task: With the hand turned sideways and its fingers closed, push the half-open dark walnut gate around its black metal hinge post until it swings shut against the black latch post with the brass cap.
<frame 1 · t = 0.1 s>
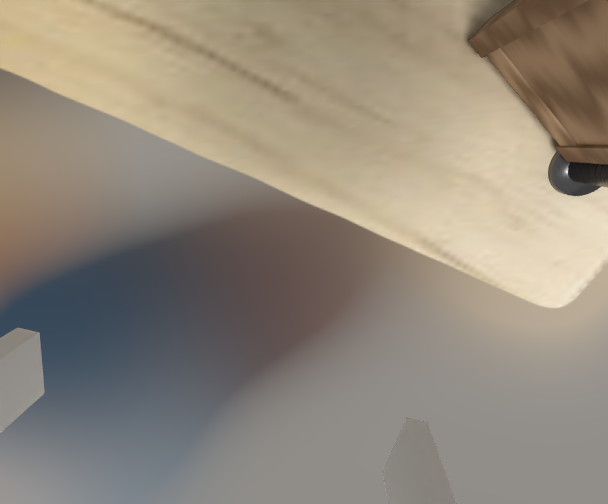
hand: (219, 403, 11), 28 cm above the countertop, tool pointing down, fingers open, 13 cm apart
walnut gate: (598, 78, 23), point 10 cm above the countertop, hinge at 0.0°
hinge post: (578, 166, 34), on the countertop
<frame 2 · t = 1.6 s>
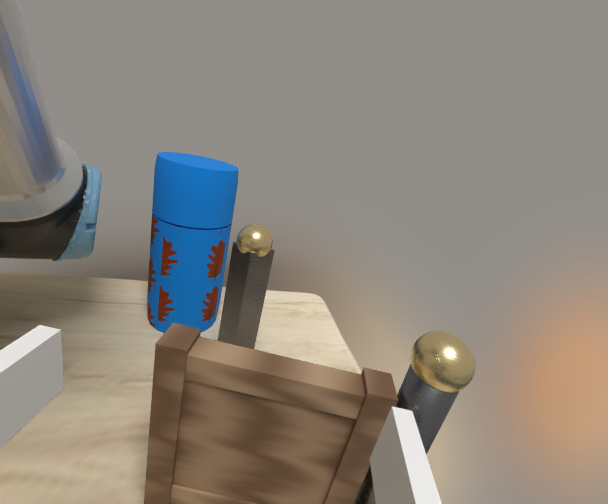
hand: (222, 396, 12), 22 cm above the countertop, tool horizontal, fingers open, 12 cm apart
latch post: (226, 394, 39), on the countertop
walnut gate: (259, 443, 24), point 9 cm above the countertop, hinge at 0.0°
thermos: (183, 316, 51), on the countertop
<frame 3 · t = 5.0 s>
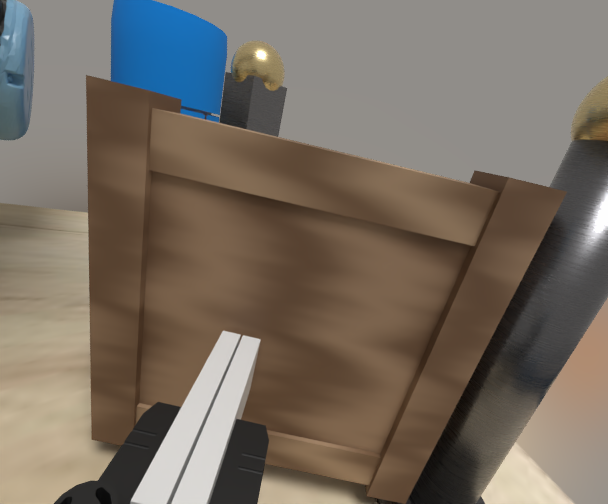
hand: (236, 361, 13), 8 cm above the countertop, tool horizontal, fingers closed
latch post: (219, 323, 28), on the countertop
walnut gate: (286, 323, 14), point 10 cm above the countertop, hinge at -1.9°, touching gripper
thermos: (159, 248, 40), on the countertop
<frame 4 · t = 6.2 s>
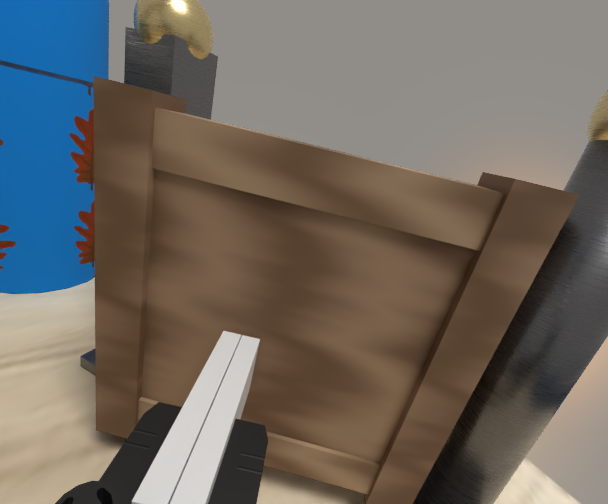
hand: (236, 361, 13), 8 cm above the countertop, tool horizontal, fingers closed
latch post: (151, 360, 23), on the countertop
walnut gate: (285, 324, 14), point 9 cm above the countertop, hinge at -23.7°, touching gripper
thermos: (40, 267, 30), on the countertop
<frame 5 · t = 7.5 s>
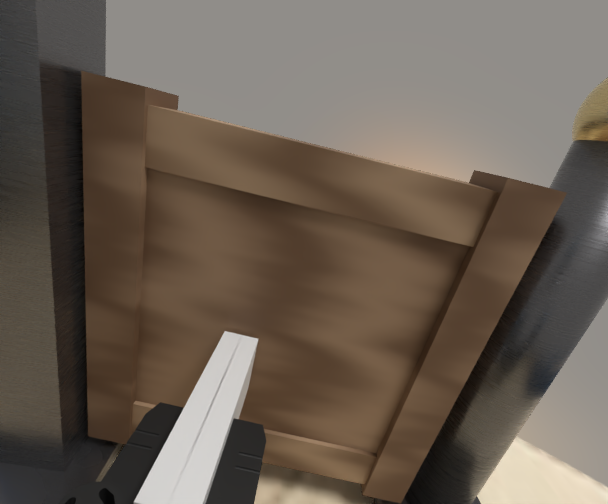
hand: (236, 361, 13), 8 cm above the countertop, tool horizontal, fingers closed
latch post: (55, 447, 16), on the countertop
walnut gate: (282, 322, 14), point 10 cm above the countertop, hinge at -43.0°, touching gripper
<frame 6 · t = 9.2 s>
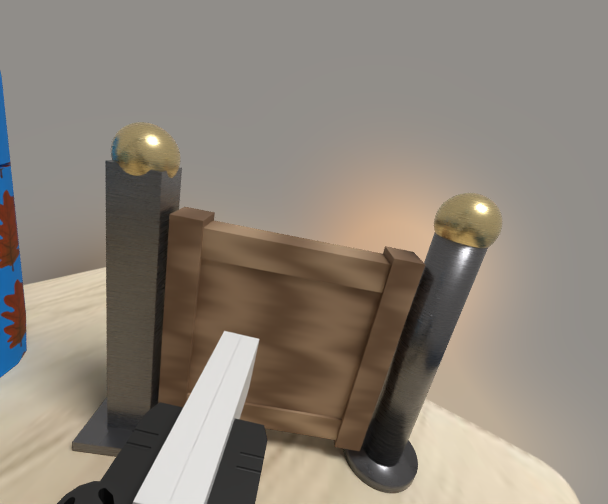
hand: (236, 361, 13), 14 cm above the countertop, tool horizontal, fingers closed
latch post: (137, 420, 25), on the countertop
walnut gate: (279, 338, 23), point 10 cm above the countertop, hinge at -41.2°
hinge post: (378, 454, 26), on the countertop
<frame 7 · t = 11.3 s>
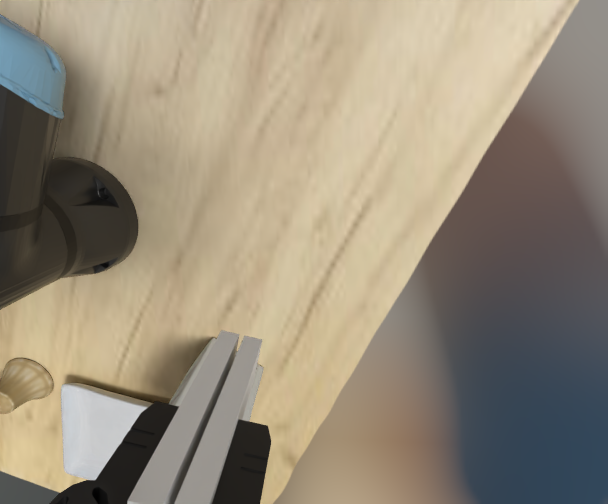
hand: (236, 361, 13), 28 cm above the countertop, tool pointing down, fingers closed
hand bell: (31, 377, 53), on the countertop
supplement box: (225, 370, 49), on the countertop
salad plate: (134, 430, 56), on the countertop
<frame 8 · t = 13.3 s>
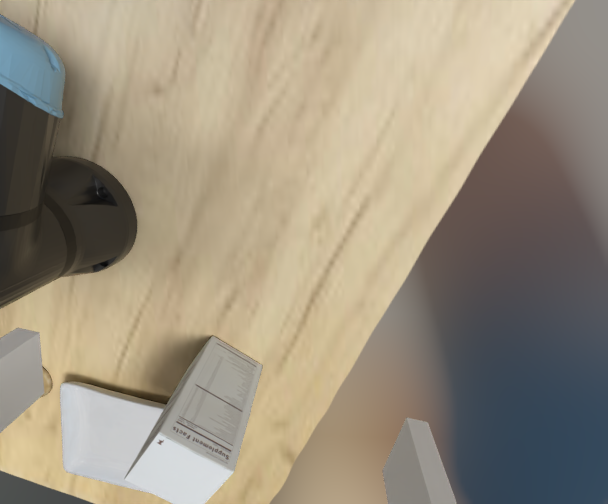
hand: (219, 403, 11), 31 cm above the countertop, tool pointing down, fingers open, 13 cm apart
supplement box: (224, 368, 49), on the countertop
salad plate: (133, 428, 56), on the countertop
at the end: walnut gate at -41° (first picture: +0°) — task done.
